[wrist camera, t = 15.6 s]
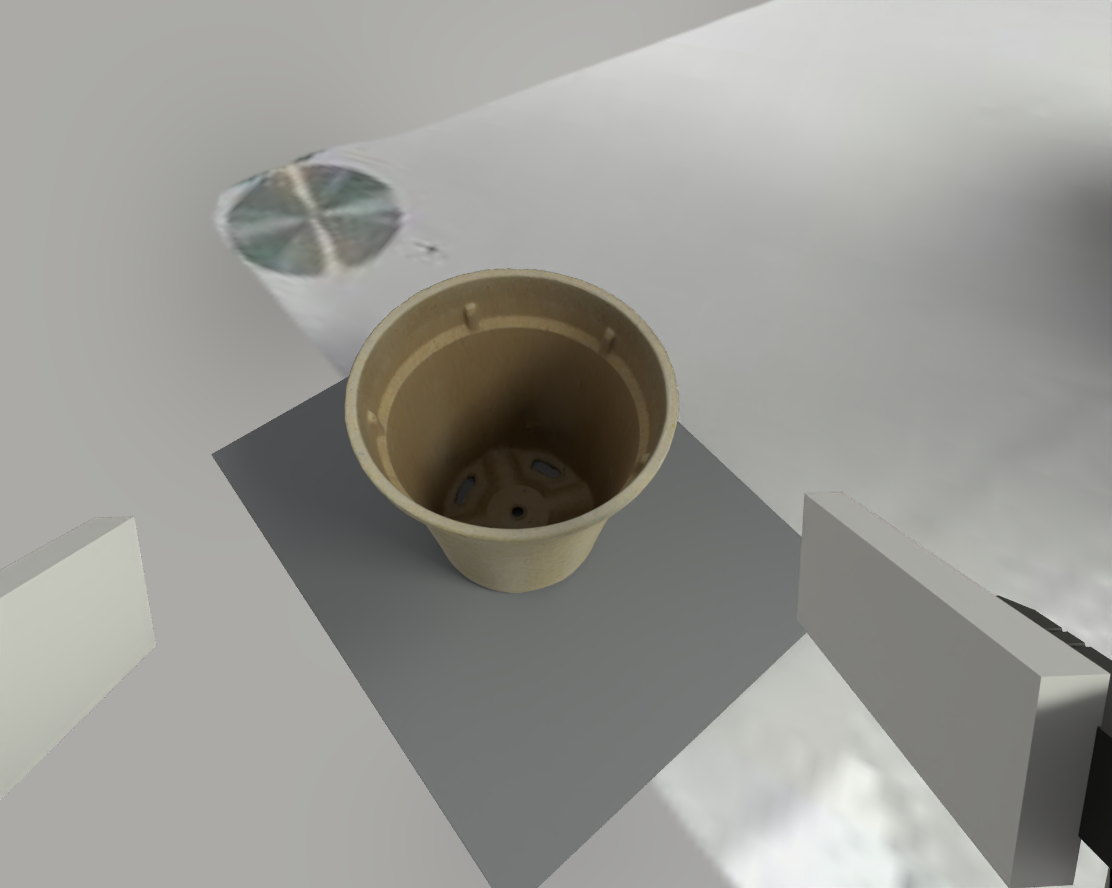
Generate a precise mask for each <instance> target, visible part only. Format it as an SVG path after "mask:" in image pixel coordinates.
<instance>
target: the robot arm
mask: <svg viewBox="0 0 1112 888" xmlns="http://www.w3.org/2000/svg"><path fill="white" fill-rule="evenodd" d="M797 621H798V622H799V623H800V624H801V626H802V627H803V628H804V630H805V631H806V632H807V633H808V635H809V636H810V637H811V638H812V640H813V641H814V642H815V643H816V645H817V646H818V647H819V648H820V650H821V651H822V652H823V654H824V655H825V656H826V657H827V659H828V660H829V661H830V662H831V664H832V665H833V666H834V667H835V669H836V670H837V671H838V673H839V674H840V675H841V676H842V678H843V679H844V680H845V681H846V683H847V684H848V685H849V686H850V688H851V689H852V690H853V691H854V693H855V694H856V695H857V697H858V698H859V699H860V700H861V702H862V703H863V704H864V705H865V707H866V708H867V709H868V710H869V712H870V713H871V714H872V716H873V717H874V718H875V719H876V721H877V722H878V723H879V724H880V726H881V727H882V728H883V729H884V731H885V732H886V733H887V734H888V736H889V737H890V738H891V740H892V741H893V742H894V743H895V745H896V746H897V747H898V748H899V750H900V751H901V752H902V753H903V755H904V756H905V757H906V759H907V760H908V761H909V762H910V764H911V765H912V766H913V767H914V769H915V770H916V771H917V772H918V774H919V775H920V776H921V777H922V779H923V780H924V781H925V783H926V784H927V785H928V786H929V788H930V789H931V790H932V791H933V793H934V794H935V795H936V796H937V798H938V799H939V800H940V802H941V803H942V804H943V805H944V807H945V808H946V809H947V810H948V812H949V813H950V814H951V815H952V817H953V818H954V819H955V820H956V822H957V823H958V824H959V826H960V827H961V828H962V829H963V831H964V832H965V833H966V834H967V836H968V837H969V838H970V839H971V841H972V842H973V843H974V845H975V846H976V847H977V848H978V850H979V851H980V852H981V853H982V855H983V856H984V857H985V858H986V860H987V861H988V862H989V863H990V865H991V866H992V867H993V869H994V870H995V871H996V872H997V874H998V875H999V876H1000V877H1001V879H1002V880H1003V881H1004V882H1005V884H1006V885H1007V886H1008V888H1026V887H1044V886H1063V885H1073V882H1074V877H1075V871H1076V865H1077V860H1078V854H1079V848H1080V843H1081V839H1082V840H1083V841H1084V842H1085V843H1086V844H1087V845H1088V846H1089V847H1090V848H1091V849H1092V850H1093V852H1094V853H1095V854H1096V855H1097V856H1098V857H1099V858H1100V859H1101V860H1102V861H1103V862H1104V863H1105V864H1106V865H1107V866H1108V867H1109V868H1108V873H1107V879H1106V884H1105V888H1112V660H1110V659H1109V658H1107V657H1105V656H1104V655H1102V654H1101V653H1099V652H1098V651H1096V650H1095V649H1093V648H1092V647H1086V646H1085V643H1084V642H1083V641H1081V640H1079V639H1078V638H1076V637H1075V636H1073V635H1072V634H1070V633H1069V632H1063V631H1062V628H1061V627H1060V626H1058V625H1057V624H1055V623H1053V622H1052V621H1050V620H1049V619H1047V618H1046V617H1044V616H1043V615H1041V614H1040V613H1038V612H1037V611H1035V610H1033V609H1030V608H1028V607H1026V606H1023V605H1021V604H1018V603H1016V602H1013V601H1011V600H1008V599H1006V598H1003V597H1001V596H995V595H993V594H992V593H990V592H989V591H987V590H986V589H985V588H983V587H982V586H980V585H979V584H977V583H976V582H974V581H973V580H971V579H970V578H968V577H967V576H965V575H964V574H962V573H961V572H959V571H958V570H956V569H955V568H954V567H952V566H951V565H949V564H948V563H946V562H945V561H943V560H942V559H940V558H939V557H937V556H936V555H934V554H933V553H931V552H930V551H928V550H927V549H925V548H924V547H923V546H921V545H920V544H918V543H917V542H915V541H914V540H912V539H911V538H909V537H908V536H906V535H905V534H903V533H902V532H900V531H899V530H897V529H896V528H895V527H893V526H892V525H890V524H889V523H887V522H886V521H884V520H883V519H881V518H880V517H878V516H877V515H875V514H874V513H872V512H871V511H869V510H868V509H866V508H865V507H864V506H862V505H861V504H859V503H858V502H856V501H855V500H853V499H852V498H850V497H849V496H847V495H846V494H844V493H843V492H831V493H805V494H804V510H803V526H802V543H801V559H800V575H799V591H798V608H797ZM155 647H156V641H155V635H154V629H153V624H152V617H151V611H150V606H149V599H148V594H147V588H146V582H145V576H144V570H143V564H142V559H141V552H140V546H139V541H138V535H137V529H136V523H135V517H107V518H106V517H105V518H93V519H91V520H89V521H87V522H86V523H84V524H82V525H80V526H78V527H77V528H75V529H73V530H71V531H69V532H67V533H66V534H64V535H62V536H60V537H58V538H57V539H55V540H53V541H51V542H49V543H48V544H46V545H44V546H42V547H40V548H39V549H37V550H35V551H33V552H31V553H30V554H28V555H26V556H24V557H22V558H21V559H19V560H17V561H15V562H13V563H12V564H10V565H8V566H6V567H4V568H3V569H1V570H0V801H1V800H2V799H3V798H4V797H5V796H6V794H8V793H9V791H11V790H12V789H13V788H14V787H15V786H16V785H17V784H18V783H19V782H20V781H21V780H22V779H23V778H24V777H25V776H26V775H27V774H28V773H29V772H30V771H31V770H32V769H33V768H34V767H35V766H36V765H37V764H38V763H39V762H40V761H41V760H42V759H43V758H44V757H45V756H46V755H47V754H48V753H49V752H50V751H51V750H52V749H53V748H54V747H55V746H56V745H57V744H58V743H59V742H60V741H61V740H62V739H63V738H64V737H65V736H66V735H67V734H68V733H69V732H70V731H71V730H72V729H73V728H74V727H75V726H76V725H77V724H78V723H79V722H80V721H81V720H82V719H83V718H84V717H85V716H86V715H87V714H88V713H89V712H90V711H91V710H92V709H93V708H94V707H95V706H96V705H97V704H98V703H99V702H100V701H101V700H102V699H103V698H104V697H105V696H106V695H107V694H108V693H109V692H110V691H111V690H112V689H113V688H114V687H115V686H116V685H117V684H118V683H119V682H120V681H121V680H122V679H123V678H124V677H125V676H126V675H127V674H128V673H129V672H130V671H131V670H132V669H133V668H134V667H135V666H137V664H139V663H140V661H142V660H143V659H144V658H145V656H146V655H148V654H149V653H150V652H151V651H152V650H153V649H154V648H155Z"/></svg>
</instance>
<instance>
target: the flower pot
mask: <svg viewBox="0 0 1112 888" xmlns="http://www.w3.org/2000/svg"><path fill="white" fill-rule="evenodd" d="M678 410H679V398H678V389H677V384H676V378H675V374H674V371H673V367H672V364H671V363H670V361H669V357H668V355H667V352H666V351H665V349H664V347H663V345H662V343H661V342H660V341H659V340H658V338H657V336H656V335H655V334H654V332H653V331H652V329H651V328H650V327H649V326H648V325H647V324H646V322H645V321H644V320H643V319H642V318H641V317H640V316H639V315H638V314H636V313H635V311H634V310H633V309H631V308H630V307H629V306H627V305H626V304H625V303H624V302H622V301H621V300H619V299H617V298H616V297H615V296H614V295H611V294H609V293H608V292H606V291H605V290H603V289H601V288H599V287H597V286H594V285H592V284H590V283H588V282H584V281H582V280H579V279H576V278H572V277H569V276H565V275H561V274H557V273H552V272H547V271H541V270H531V269H523V270H515V269H509V268H508V269H494V270H490V269H489V270H483V271H478V272H473V273H468V274H463V275H459V276H456V277H454V278H450V279H447V280H445V281H442V282H440V283H437V284H435V285H433V286H431V287H429V288H427V289H424V290H421V291H420V292H418V293H416V294H415V295H413V296H412V297H410V298H409V299H408V300H407V301H405V302H404V303H402V304H401V305H400V306H398V307H397V308H395V309H394V310H392V311H391V312H390V313H389V315H388V316H387V317H386V318H384V319H383V320H382V322H381V323H380V324H378V326H377V327H376V328H375V329H374V330H373V332H372V333H371V334H370V336H369V337H368V339H367V340H366V341H365V343H364V345H363V346H362V348H361V350H360V351H359V353H358V355H357V357H356V358H355V361H354V363H353V366H352V369H351V371H350V375H349V379H348V382H347V386H346V396H345V423H346V426H347V428H346V429H347V432H348V436H349V439H350V443H351V446H352V448H353V451H354V453H355V455H356V457H357V459H358V461H359V463H360V465H361V467H362V469H363V470H364V471H365V473H366V475H367V476H368V478H369V479H370V480H371V481H372V482H373V484H374V485H375V486H376V487H377V488H378V490H379V491H380V492H381V493H382V494H383V495H384V496H385V497H386V498H387V499H389V500H390V501H391V502H392V503H393V504H394V505H395V506H396V507H397V508H399V509H400V510H402V511H403V512H404V513H406V514H407V515H409V516H411V517H413V518H414V519H416V520H418V521H420V522H422V523H423V524H425V525H426V526H427V527H428V529H429V530H430V532H431V533H432V535H433V536H434V538H435V539H436V540H437V542H438V543H439V545H440V546H441V548H442V549H443V551H444V553H445V555H446V556H447V558H448V559H449V561H450V562H451V563H452V564H453V565H454V567H455V568H456V569H457V570H459V571H460V572H461V573H462V574H463V575H464V576H466V577H467V578H468V579H470V580H471V581H473V582H475V583H477V584H479V585H481V586H484V587H486V588H489V589H492V590H497V591H501V592H508V593H522V592H527V591H532V590H536V589H540V588H544V587H547V586H550V585H553V584H555V583H557V582H560V581H562V580H563V579H565V578H567V577H568V576H569V575H571V574H572V573H573V572H574V571H575V570H576V569H577V568H578V567H579V566H580V565H581V564H582V563H583V562H584V560H585V559H586V557H587V556H588V554H589V553H590V551H591V550H592V547H593V545H594V543H595V541H596V539H597V537H598V536H599V534H600V532H601V530H602V528H603V526H604V524H605V523H606V521H607V519H608V518H609V517H611V516H612V515H614V514H615V513H617V512H618V511H619V510H621V509H622V508H624V507H625V506H626V505H627V504H628V503H630V502H631V501H632V500H633V499H635V498H636V497H637V496H638V495H639V494H640V493H641V491H642V490H643V489H644V488H645V487H646V486H647V485H648V483H649V482H650V481H651V480H652V478H653V477H654V476H655V474H656V473H657V471H658V470H659V468H660V466H661V465H662V463H663V461H664V459H665V457H666V455H667V453H668V451H669V448H670V445H671V442H672V439H673V436H674V432H675V429H676V425H677V418H678ZM535 461H542V462H545V463H547V464H548V465H549V466H551V467H552V468H554V469H557V470H558V471H559V472H560V475H558V477H557V478H553V477H550V476H548V475H546V474H544V473H542V472H540V471H537V470H536V469H532V464H533V462H535ZM470 477H474V478H475V485H474V487H473V488H472V489H471V490H469V492H468V493H467V495H466V497H465V499H464V501H463V502H462V503H461V504H457V503H455V502H456V500H457V495H458V493H459V491H460V489H461V487H462V485H463V483H464V482H465V481H466V480H467V479H468V478H470ZM516 507H520V508H522V509H523V515H521V516H520V517H514V516H513V509H514V508H516Z"/></svg>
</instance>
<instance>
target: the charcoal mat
mask: <svg viewBox="0 0 1112 888" xmlns="http://www.w3.org/2000/svg"><path fill="white" fill-rule="evenodd" d="M348 379H349V377H347V378H345V379H344V380H342V381H340V382H338V383H337V384H335V385H333V386H331V387H330V388H328V389H326V390H324V391H322V392H321V393H319V394H317V395H315V396H314V397H312V398H310V399H308V400H307V401H305V402H303V403H301V404H300V405H298V406H296V407H294V408H293V409H291V410H289V411H287V412H285V413H284V414H282V415H280V416H278V417H277V418H275V419H273V420H271V421H270V422H268V423H266V424H264V425H262V426H261V427H259V428H257V429H256V430H254V431H252V432H250V433H248V434H247V435H245V436H243V437H241V438H240V439H238V440H236V441H234V442H232V443H231V444H229V445H228V446H226V447H224V448H222V449H220V450H218V451H217V452H215V453H213V454H212V456H213V458H214V459H215V461H216V462H217V464H218V465H219V467H220V468H221V470H222V472H223V473H224V475H225V476H226V478H227V479H228V481H229V482H230V484H231V485H232V487H233V489H234V490H235V492H236V493H237V495H238V496H239V498H240V499H241V501H242V503H243V504H244V505H245V507H246V509H247V510H248V512H249V513H250V515H251V516H252V518H253V520H254V521H255V523H256V524H257V526H258V527H259V528H260V530H261V532H262V533H263V535H264V537H265V538H266V540H267V541H268V543H269V544H270V546H271V547H272V549H273V550H274V552H275V554H276V555H277V557H278V558H279V560H280V561H281V562H282V564H283V566H284V567H285V569H286V570H287V572H288V574H289V575H290V577H291V578H292V580H293V581H294V583H295V584H296V586H297V588H298V589H299V591H300V592H301V594H302V595H303V597H304V598H305V600H306V601H307V603H308V604H309V606H310V608H311V609H312V611H313V612H314V614H315V615H316V617H317V618H318V620H319V621H320V623H321V625H322V626H323V628H324V629H325V631H326V632H327V634H328V635H329V637H330V639H331V640H332V642H333V643H334V645H335V646H336V648H337V649H338V651H339V652H340V654H341V656H342V657H343V659H344V660H345V662H346V663H347V665H348V666H349V668H350V669H351V671H352V672H353V674H354V675H355V677H356V679H357V680H358V682H359V683H360V685H361V686H362V688H363V690H364V691H365V692H366V694H367V695H368V697H369V699H370V700H371V702H372V703H373V705H374V706H375V708H376V710H377V711H378V713H379V714H380V716H381V717H382V719H383V720H384V722H385V724H386V725H387V727H388V728H389V730H390V731H391V733H392V734H393V736H394V737H395V739H396V740H397V742H398V744H399V745H400V746H401V748H402V750H403V751H404V753H405V754H406V756H407V758H408V759H409V761H410V762H411V764H412V765H413V767H414V768H415V770H416V771H417V773H418V775H419V776H420V778H421V779H422V781H423V782H424V784H425V785H426V787H427V788H428V790H429V792H430V793H431V795H432V796H433V798H434V799H435V801H436V802H437V804H438V805H439V807H440V809H441V810H442V812H443V813H444V815H445V816H446V818H447V819H448V821H449V822H450V824H451V825H452V827H453V829H454V830H455V832H456V833H457V835H458V836H459V838H460V839H461V841H462V843H463V844H464V845H465V847H466V848H467V850H468V852H469V853H470V855H471V856H472V858H473V860H474V861H475V863H476V864H477V866H478V867H479V869H480V870H481V872H482V873H483V875H484V877H485V878H486V880H487V881H488V883H489V884H490V886H491V887H492V888H538V887H539V886H540V885H541V884H542V883H543V882H544V881H545V880H546V879H547V878H548V877H549V876H550V875H551V874H552V873H553V872H555V870H556V869H558V868H559V867H560V866H561V865H562V864H563V863H564V862H565V861H566V860H567V859H568V858H569V857H570V856H571V855H572V854H573V853H574V852H576V851H577V850H578V849H579V848H580V847H581V846H582V845H583V844H584V843H585V842H586V841H587V840H588V839H589V838H590V837H591V836H592V835H593V834H595V832H597V830H599V829H600V828H601V827H602V826H603V825H604V824H605V823H606V822H607V821H608V820H609V819H610V818H611V817H612V816H613V815H615V813H616V812H618V811H619V810H620V809H621V808H622V807H623V806H624V805H625V804H626V803H627V802H628V801H629V800H630V799H631V798H632V797H633V796H634V795H636V794H637V793H638V792H639V791H640V790H641V789H642V788H643V787H644V786H645V785H646V784H647V783H648V782H649V781H650V780H651V779H652V778H653V777H655V776H656V775H657V774H658V773H659V772H660V771H661V770H662V769H663V768H664V767H665V766H666V765H667V764H668V763H669V762H670V761H671V760H672V759H673V758H675V757H676V756H677V755H678V754H679V753H680V752H681V751H682V750H683V749H684V748H685V747H686V746H687V745H688V744H689V743H690V742H691V741H692V740H693V739H695V738H696V737H697V736H698V735H699V734H700V733H701V732H702V731H703V730H704V729H705V728H706V727H707V726H708V725H709V724H710V723H711V722H712V721H713V720H715V719H716V718H717V717H718V716H719V715H720V714H721V713H722V712H723V711H724V710H725V709H726V708H727V707H728V706H729V705H730V704H731V703H732V702H733V701H735V700H736V699H737V698H738V697H739V696H740V695H741V694H742V693H743V692H744V691H745V690H746V689H747V688H748V687H749V686H750V685H751V684H752V683H753V682H755V681H756V680H757V679H758V678H759V677H760V676H761V675H762V674H763V673H764V672H765V671H766V670H767V669H768V668H769V667H770V666H771V665H772V664H773V663H775V662H776V661H777V660H778V659H779V658H780V657H781V656H782V655H783V654H784V653H785V652H786V651H787V650H788V649H789V648H790V647H791V646H792V645H793V644H795V643H796V642H797V641H798V640H799V639H800V638H801V637H802V636H803V635H804V634H805V633H806V631H805V630H804V628H803V627H802V626H801V624H800V623H799V622H798V621H797V608H798V591H799V575H800V559H801V543H802V537H801V536H799V535H798V534H797V533H796V532H795V531H794V530H793V529H792V528H791V527H790V526H789V525H788V524H787V523H786V522H785V521H783V520H782V519H781V518H780V517H779V516H778V515H777V514H776V513H775V512H774V511H773V510H772V509H771V508H770V507H768V506H767V505H766V504H765V503H764V502H763V501H762V500H761V499H760V498H759V497H758V496H757V495H756V494H755V493H754V492H752V491H751V490H750V489H749V488H748V487H747V486H746V485H745V484H744V483H743V482H742V481H741V480H740V479H739V478H738V477H736V476H735V475H734V474H733V473H732V472H731V471H730V470H729V469H728V468H727V467H726V466H725V465H724V464H723V463H721V462H720V461H719V460H718V459H717V458H716V457H715V456H714V455H713V454H712V453H711V452H710V451H709V450H708V449H707V448H705V447H704V446H703V445H702V444H701V443H700V442H699V441H698V440H697V439H696V438H695V437H694V436H693V435H692V434H691V433H689V432H688V431H687V430H686V429H685V428H684V427H683V426H682V425H681V424H680V423H679V422H678V421H677V425H676V429H675V432H674V436H673V439H672V442H671V445H670V448H669V451H668V453H667V455H666V457H665V459H664V461H663V463H662V465H661V466H660V468H659V470H658V471H657V473H656V474H655V476H654V477H653V478H652V480H651V481H650V482H649V483H648V485H647V486H646V487H645V488H644V489H643V490H642V491H641V493H640V494H639V495H638V496H637V497H636V498H635V499H633V500H632V501H631V502H630V503H628V504H627V505H626V506H625V507H624V508H622V509H621V510H619V511H618V512H617V513H615V514H614V515H612V516H611V517H609V518H608V519H607V521H606V523H605V524H604V526H603V528H602V530H601V532H600V534H599V536H598V537H597V539H596V541H595V543H594V545H593V547H592V550H591V551H590V553H589V554H588V556H587V557H586V559H585V560H584V562H583V563H582V564H581V565H580V566H579V567H578V568H577V569H576V570H575V571H574V572H573V573H572V574H571V575H569V576H568V577H567V578H565V579H563V580H562V581H560V582H557V583H555V584H553V585H550V586H547V587H544V588H540V589H536V590H532V591H527V592H522V593H508V592H501V591H497V590H492V589H489V588H486V587H484V586H481V585H479V584H477V583H475V582H473V581H471V580H470V579H468V578H467V577H466V576H464V575H463V574H462V573H461V572H460V571H459V570H457V569H456V568H455V567H454V565H453V564H452V563H451V562H450V561H449V559H448V558H447V556H446V555H445V553H444V551H443V549H442V548H441V546H440V545H439V543H438V542H437V540H436V539H435V538H434V536H433V535H432V533H431V532H430V530H429V529H428V527H427V526H426V525H425V524H423V523H422V522H420V521H418V520H416V519H414V518H413V517H411V516H409V515H407V514H406V513H404V512H403V511H402V510H400V509H399V508H397V507H396V506H395V505H394V504H393V503H392V502H391V501H390V500H389V499H387V498H386V497H385V496H384V495H383V494H382V493H381V492H380V491H379V490H378V488H377V487H376V486H375V485H374V484H373V482H372V481H371V480H370V479H369V478H368V476H367V475H366V473H365V471H364V470H363V469H362V467H361V465H360V463H359V461H358V459H357V457H356V455H355V453H354V451H353V448H352V446H351V443H350V439H349V436H348V432H347V429H346V428H347V426H346V423H345V396H346V386H347V382H348ZM532 469H536V470H537V471H540V472H542V473H544V474H546V475H548V476H550V477H553V478H557V477H558V475H560V472H559V471H558V470H557V469H554V468H552V467H551V466H549V465H548V464H547V463H545V462H542V461H535V462H533V464H532ZM474 485H475V478H474V477H470V478H468V479H467V480H466V481H465V482H464V483H463V485H462V487H461V489H460V491H459V493H458V495H457V500H456V502H455V503H457V504H461V503H462V502H463V501H464V499H465V497H466V495H467V493H468V492H469V490H471V489H472V488H473V487H474ZM521 515H523V509H522V508H520V507H516V508H514V509H513V516H514V517H520V516H521Z"/></svg>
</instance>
